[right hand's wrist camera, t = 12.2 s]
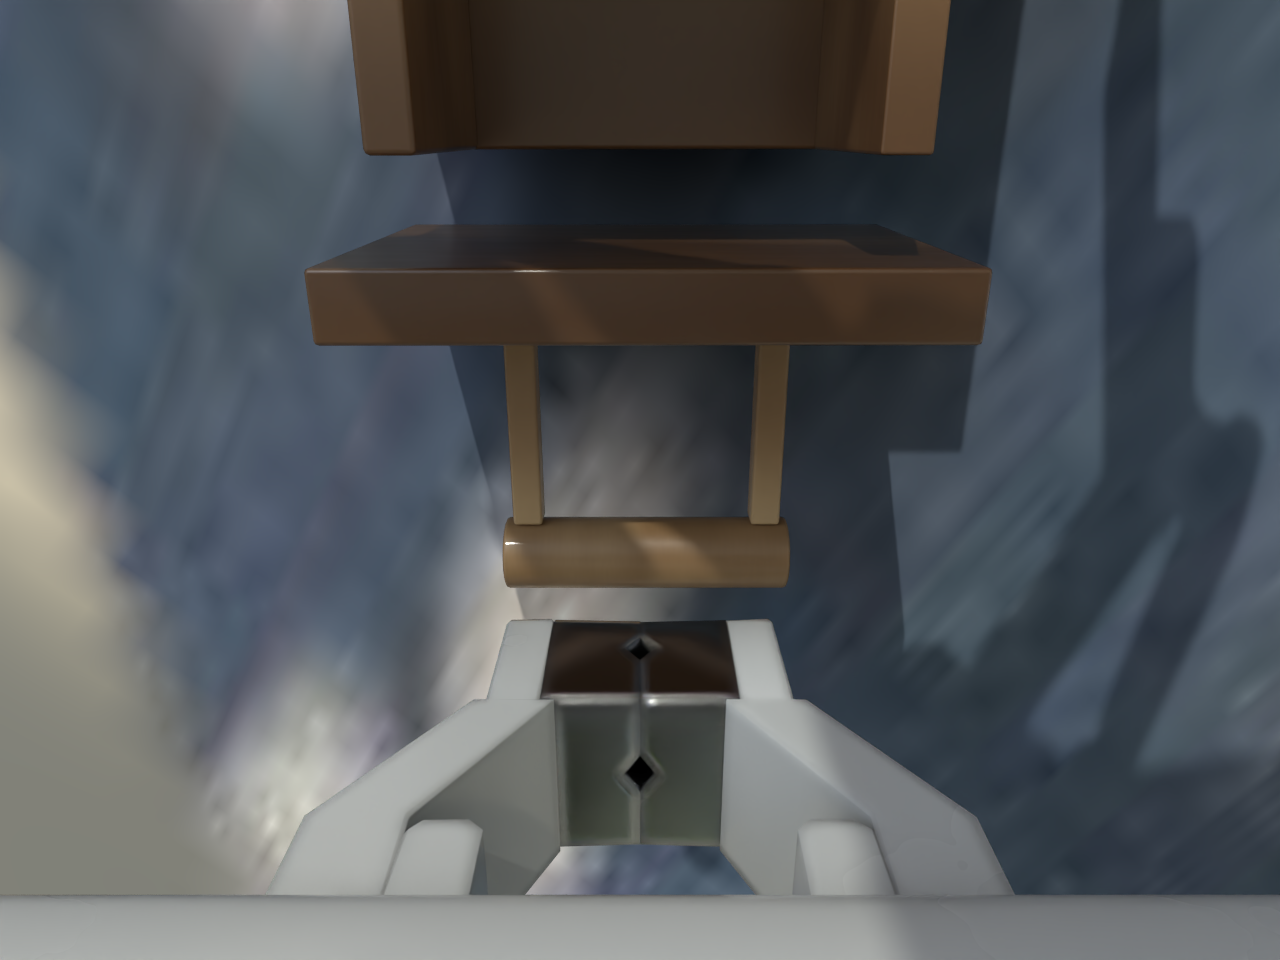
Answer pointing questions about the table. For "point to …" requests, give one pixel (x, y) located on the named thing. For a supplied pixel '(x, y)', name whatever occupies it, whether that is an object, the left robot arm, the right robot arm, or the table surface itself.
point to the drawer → (648, 227)
